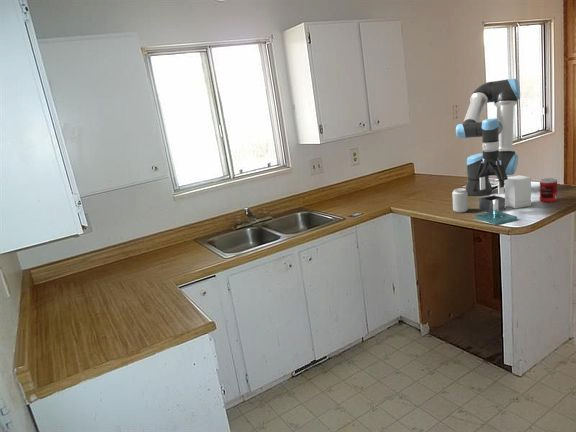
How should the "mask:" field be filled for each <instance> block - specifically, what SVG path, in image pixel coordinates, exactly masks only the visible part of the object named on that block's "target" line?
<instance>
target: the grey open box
mask: <svg viewBox="0 0 576 432" xmlns="http://www.w3.org/2000/svg"><path fill="white" fill-rule="evenodd" d="M495 199H497V200H498V208H499V211H502V210H503V211H505V210H506V205H505V197H502V196H499V195H495V194H493V195H489V196H484V197H480V198H478V200H479V201H478V202H479V205H478V206H479V207H478V208H479V210H480V211H483V212H485V213H488V212H492V211H493V200H495Z"/></svg>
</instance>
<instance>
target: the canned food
mask: <svg viewBox="0 0 576 432" xmlns="http://www.w3.org/2000/svg"><path fill="white" fill-rule="evenodd" d="M557 199H558V179H557V178H552V177H551V178H542V179H539V202H542V203H554V202H556V201H558V200H557Z"/></svg>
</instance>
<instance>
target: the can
mask: <svg viewBox="0 0 576 432" xmlns="http://www.w3.org/2000/svg"><path fill="white" fill-rule="evenodd" d="M451 196H452V210H453V211H454V212H455V213H457V214H458V213H461V214H462V213H466V212H467V211H468V210H469V197H468V196H469V195H468V193H467V191H466V189H465V188H463V187H460V188H455V189H453V191H452V193H451Z"/></svg>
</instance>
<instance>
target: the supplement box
mask: <svg viewBox="0 0 576 432" xmlns="http://www.w3.org/2000/svg"><path fill="white" fill-rule="evenodd" d="M507 178H508V179H507V180H504V198H505V207H506V206H507V207H510V208H513V209H520V208H526V207H531V205H532V196H531V195H532V192H531V191H532V189H531V186H532V185H531V184H532V182H531V181H532V178H531V177H529V176H524V175H520V174H518V175H513V176H512V175H511V176H507Z"/></svg>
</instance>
